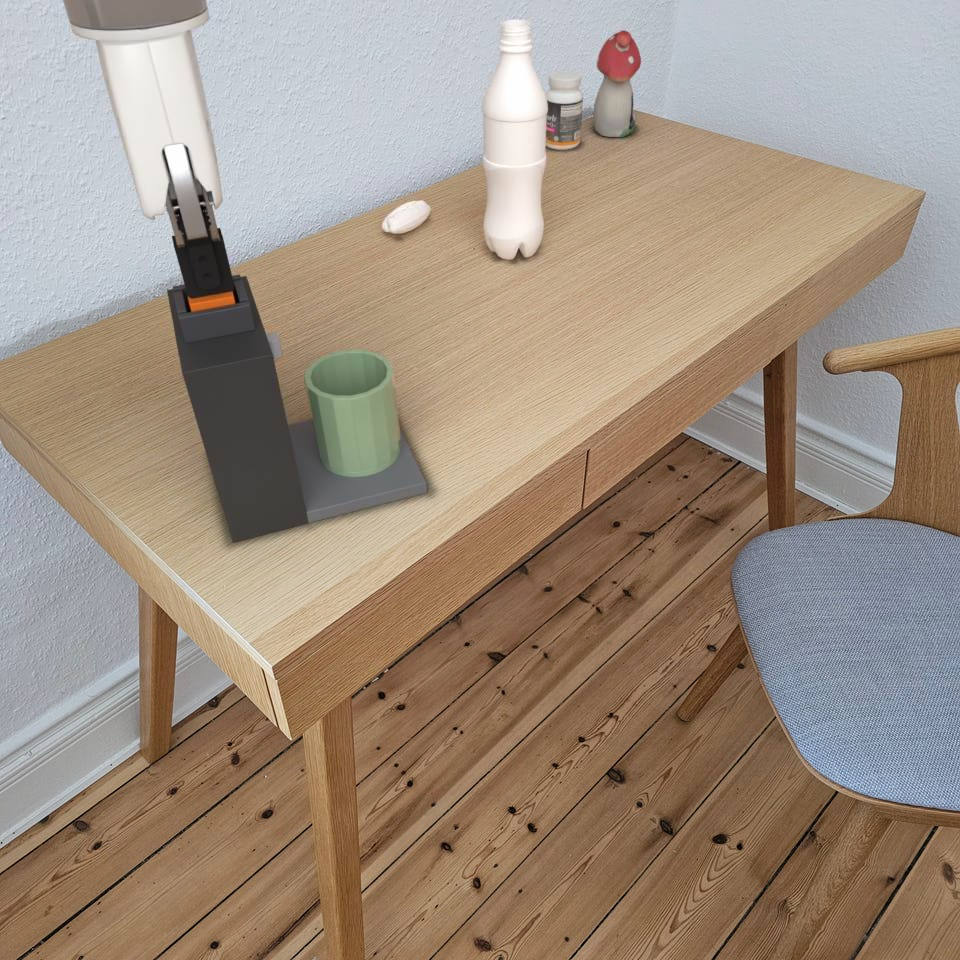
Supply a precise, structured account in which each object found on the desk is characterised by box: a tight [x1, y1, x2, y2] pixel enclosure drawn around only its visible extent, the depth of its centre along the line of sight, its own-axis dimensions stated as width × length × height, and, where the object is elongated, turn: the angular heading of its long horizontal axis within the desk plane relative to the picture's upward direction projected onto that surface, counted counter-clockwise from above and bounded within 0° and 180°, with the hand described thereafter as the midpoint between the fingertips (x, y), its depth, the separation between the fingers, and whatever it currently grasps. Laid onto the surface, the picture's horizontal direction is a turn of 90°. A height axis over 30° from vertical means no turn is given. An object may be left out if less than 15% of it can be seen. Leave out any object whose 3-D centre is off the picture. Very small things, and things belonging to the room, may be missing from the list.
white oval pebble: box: [381, 199, 432, 235], centre depth 107 cm, size 3×8×3 cm, turn 145°
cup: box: [303, 348, 401, 477], centre depth 70 cm, size 7×7×8 cm
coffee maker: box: [166, 273, 428, 544], centre depth 67 cm, size 16×12×18 cm
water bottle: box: [481, 19, 548, 261], centre depth 95 cm, size 7×7×25 cm
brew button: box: [188, 292, 236, 312], centre depth 60 cm, size 3×3×2 cm
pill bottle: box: [545, 69, 584, 151], centre depth 126 cm, size 6×6×10 cm
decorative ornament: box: [592, 29, 642, 138], centre depth 128 cm, size 9×7×15 cm
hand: (210, 289), depth 59 cm, fingers closed
